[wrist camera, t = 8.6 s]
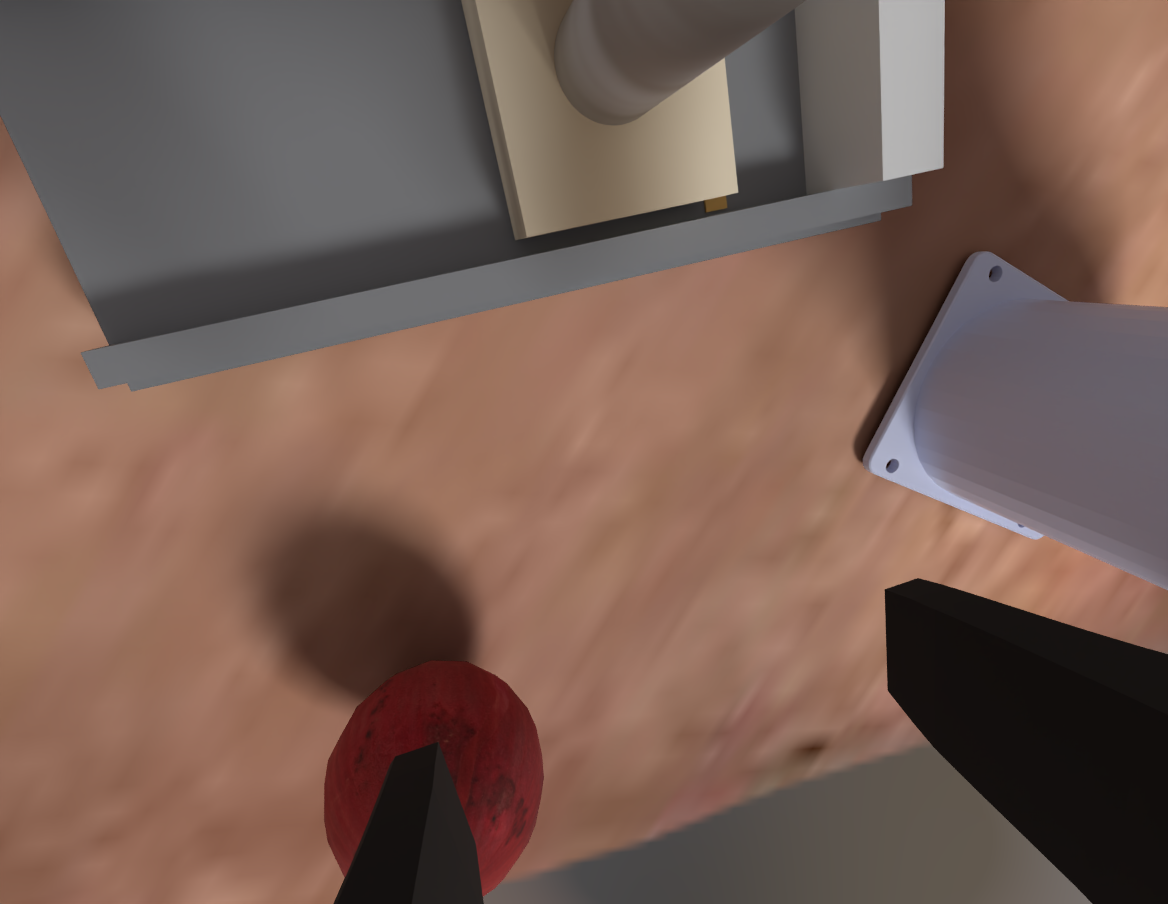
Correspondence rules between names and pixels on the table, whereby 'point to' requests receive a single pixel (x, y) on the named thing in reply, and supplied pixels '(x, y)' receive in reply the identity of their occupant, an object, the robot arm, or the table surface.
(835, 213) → the rail base
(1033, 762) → the robot arm
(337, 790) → the onion
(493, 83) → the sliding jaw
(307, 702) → the table surface
